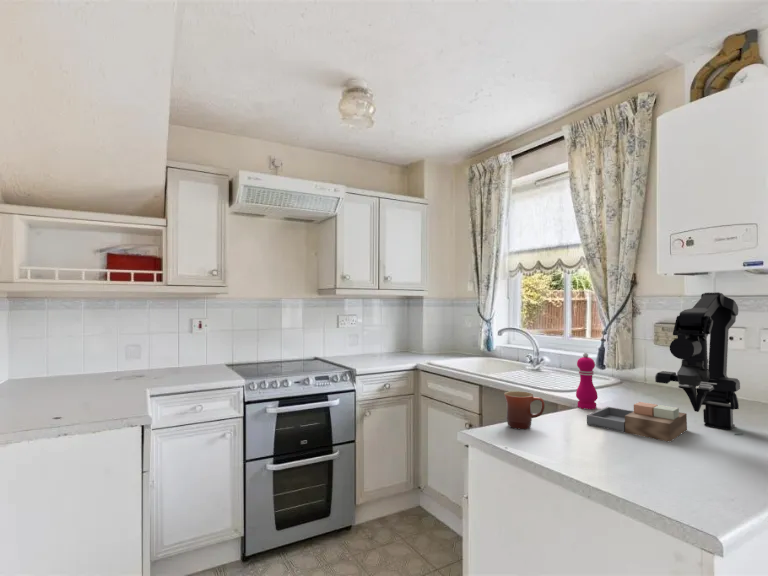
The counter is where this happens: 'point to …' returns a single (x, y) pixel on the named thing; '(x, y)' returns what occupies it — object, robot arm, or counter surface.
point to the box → (609, 418)
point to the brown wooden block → (655, 426)
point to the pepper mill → (586, 383)
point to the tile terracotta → (644, 408)
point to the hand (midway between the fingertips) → (696, 411)
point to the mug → (521, 409)
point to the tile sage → (666, 412)
